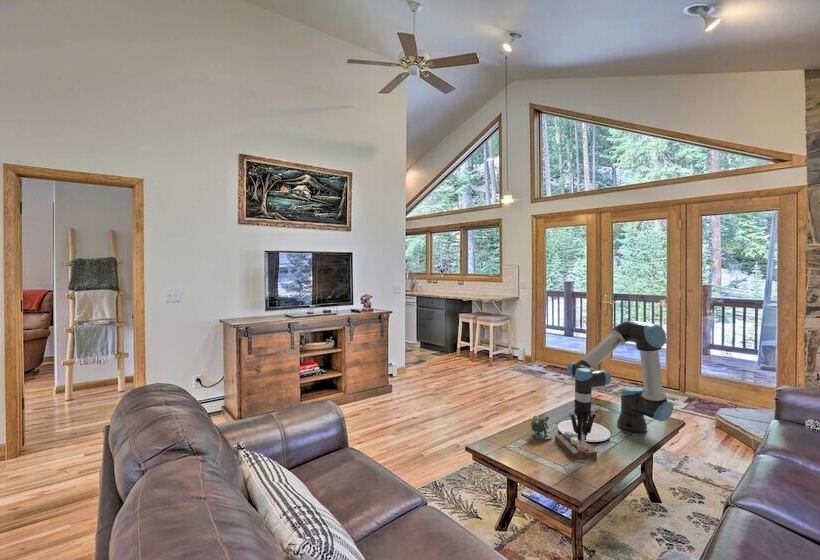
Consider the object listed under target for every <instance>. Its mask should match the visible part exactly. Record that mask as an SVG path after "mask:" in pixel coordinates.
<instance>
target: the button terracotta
mask: <svg viewBox="0 0 820 560" xmlns="http://www.w3.org/2000/svg"><path fill="white" fill-rule="evenodd" d="M586 449H587V447H586V446H585V447H584V448H581V447H580V446H579V445H577V451H579V452H586Z"/></svg>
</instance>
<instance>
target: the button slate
mask: <svg viewBox="0 0 820 560" xmlns="http://www.w3.org/2000/svg"><path fill="white" fill-rule="evenodd" d="M564 434H565V436H564V438H565V439H566V440H571V438H572V437H573V434H574V432H570V431H565V432H564Z"/></svg>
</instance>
